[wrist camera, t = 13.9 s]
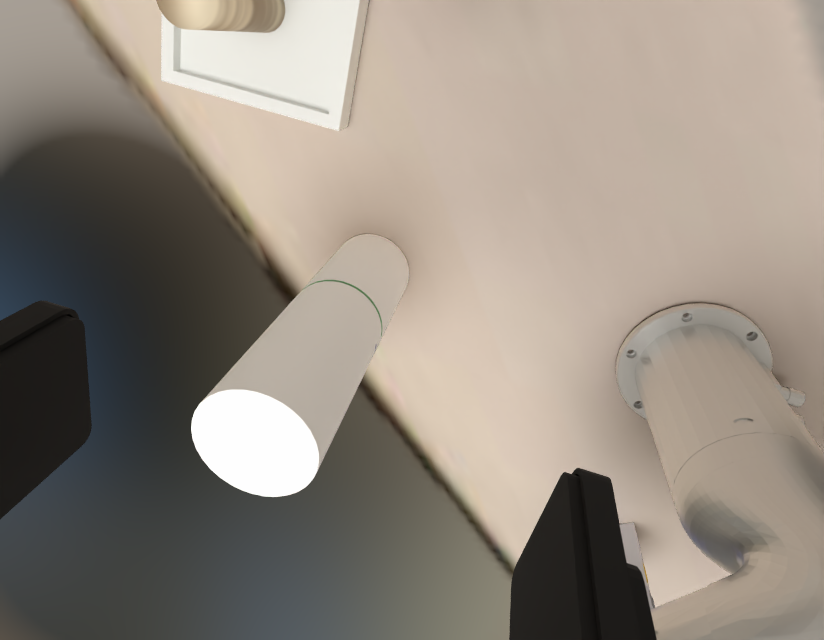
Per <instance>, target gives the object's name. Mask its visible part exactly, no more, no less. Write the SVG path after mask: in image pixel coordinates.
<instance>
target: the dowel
mask: <svg viewBox="0 0 824 640" xmlns="http://www.w3.org/2000/svg"><path fill="white" fill-rule="evenodd" d="M157 4H158V6H159V8H160V10H161V12H162V14H163V15H164V16H165V18H166V19H167V20H168V21H169V22H170V23H171V24H173V25H174V26H176V27H178V28H181V29H187V30H211V31H235V32H259V33H270V32H273V31H275V30H276V29H278V28H279V27H280V25H281V24H282V22H283V20H284V16H285V3H284V0H157Z"/></svg>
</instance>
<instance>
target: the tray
mask: <svg viewBox="0 0 824 640" xmlns="http://www.w3.org/2000/svg"><path fill="white" fill-rule="evenodd" d="M284 3H285V16H284V20H283V22H282V24H281V25H280V27H279V28H278V29H276V30H275V31H273V32H270V33H259V32H235V31H211V30H187V29H181V28H178V27H176V26H174V25H173V24H171V23H170V22H169V21H168V20H167V19H166V18H165V16H164V15H163V14H162V43H161V81H164V82H168V83H171V84H175V85H178V86H182V87H185V88H189V89H192V90H196V91H199V92H203V93H207V94H210V95H214V96H217V97H221V98H224V99H228V100H231V101H235V102H238V103H242V104H245V105H249V106H252V107H256V108H259V109H263V110H266V111H270V112H273V113H277V114H280V115H284V116H287V117H291V118H295V119H298V120H302V121H305V122H309V123H312V124H316V125H319V126H323V127H326V128H330V129H333V130H337V131H340V130H342V129H344V128H346V127H348V123H349V117H350V111H351V105H352V99H353V93H354V87H355V81H356V75H357V69H358V63H359V57H360V51H361V45H362V39H363V33H364V28H365V22H366V16H367V10H368V4H369V0H284Z"/></svg>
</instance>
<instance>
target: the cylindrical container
mask: <svg viewBox="0 0 824 640" xmlns="http://www.w3.org/2000/svg"><path fill="white" fill-rule="evenodd" d="M408 281H409V266H408V263H407V260H406V257H405V256H404V254H403V252H402V251H401V250H400V249H399V248H398V246H397V245H395V244H394V243H393V242H392V241H390V240H388V239H386V238H385V237H382V236H379V235H374V234H362V235H358V236H354V237H353V238H351V239H349V240H347V241H346V242H345V243H344V244H343V245H342V246H341V247H340V248H339V249H338V251H337V252H336V253H335V254H334V255H333V256H332V257H331V258H330V259H329V261H328V262H327V263H326V264H325V265H324V266H323V267H322V268H321V269H320V271H319V272H318V273H317V274H316V275H315V276H314V277H313V278H312V280H311V281H310V282H309V283H308V284H307V285H306V286H305V287H304V288H303V290H302V291H301V292H300V293H299V294H298V295H297V296H296V297H295V298H294V300H293V301H292V302H291V303H290V304H289V305H288V306H287V307H286V309H285V310H284V311H283V312H282V313H281V314H280V315H279V316H278V317H277V319H276V320H275V321H274V322H273V323H272V324H271V325H270V326H269V327H268V329H267V330H266V331H265V332H264V333H263V334H262V335H261V336H260V338H259V339H258V340H257V341H256V342H255V343H254V344H253V345H252V346H251V348H250V349H249V350H248V351H247V352H246V353H245V354H244V355H243V356H242V357H241V359H240V360H239V361H238V362H237V363H236V364H235V365H234V366H233V367H232V369H231V370H230V371H229V372H228V373H227V374H226V375H225V376H224V378H223V379H222V380H221V381H220V382H219V383H218V384H217V385H216V387H215V388H214V389H213V390H212V391H211V392H210V393H209V394H208V395H207V396H206V398H205V399H204V400H203V401H202V402H201V403H200V405H199V406H198V407H197V409H196V410H195V412H194V415H193V418H192V426H191V430H192V438H193V441H194V444H195V447H196V449H197V451H198V452H199V454H200V456H201V457H202V459H203V461H204V462H205V463H206V464H207V465H208V467H209V468H210V469H211V470H212V471H213V472H214V473H215V474H217V475H218V476H219V477H220V478H222V479H223V480H224V481H226V482H227V483H229V484H230V485H232V486H234V487H236V488H238V489H240V490H243V491H246V492H249V493H251V494H256V495H261V496H270V497H278V496H286V495H290V494H292V493H296V492H298V491H300V490H301V489H303V488H305V487H306V486H307V485H308V484H309V483H310V482H311V481H312V480H313V478H314V476H315V474H316V472H317V470H318V468H319V466H320V464H321V462H322V460H323V458H324V456H325V454H326V452H327V450H328V448H329V445H330V443H331V442H332V439H333V437H334V435H335V433H336V431H337V429H338V427H339V425H340V423H341V421H342V419H343V417H344V415H345V413H346V411H347V409H348V406H349V404H350V402H351V400H352V398H353V396H354V394H355V392H356V390H357V388H358V386H359V384H360V382H361V380H362V378H363V376H364V374H365V372H366V369H367V367H368V365H369V363H370V361H371V359H372V357H373V355H374V353H375V351H376V349H377V347H378V345H379V343H380V341H381V339H382V336H383V334H384V332H385V330H386V328H387V326H388V324H389V322H390V320H391V318H392V316H393V314H394V312H395V310H396V308H397V306H398V304H399V301H400V299H401V297H402V295H403V293H404V291H405V289H406V287H407V284H408Z"/></svg>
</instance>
